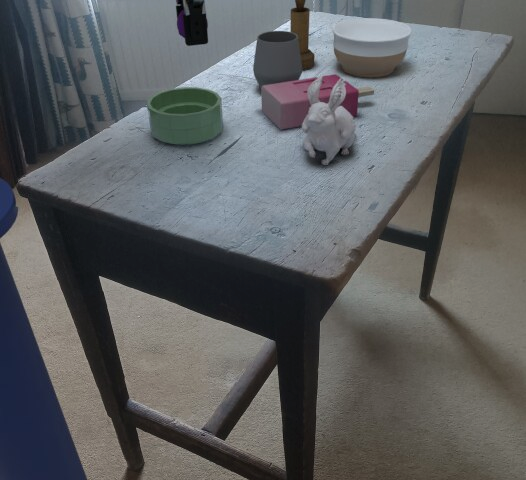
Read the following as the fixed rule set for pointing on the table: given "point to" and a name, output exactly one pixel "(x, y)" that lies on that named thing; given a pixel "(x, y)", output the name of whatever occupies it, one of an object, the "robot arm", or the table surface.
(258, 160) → the table surface
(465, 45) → the table surface
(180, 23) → the ball
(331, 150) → the figurine
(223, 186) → the table surface
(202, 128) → the green bowl
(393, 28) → the bowl
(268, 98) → the popsicle
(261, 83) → the cup
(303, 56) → the wooden pepper mill
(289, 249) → the table surface
